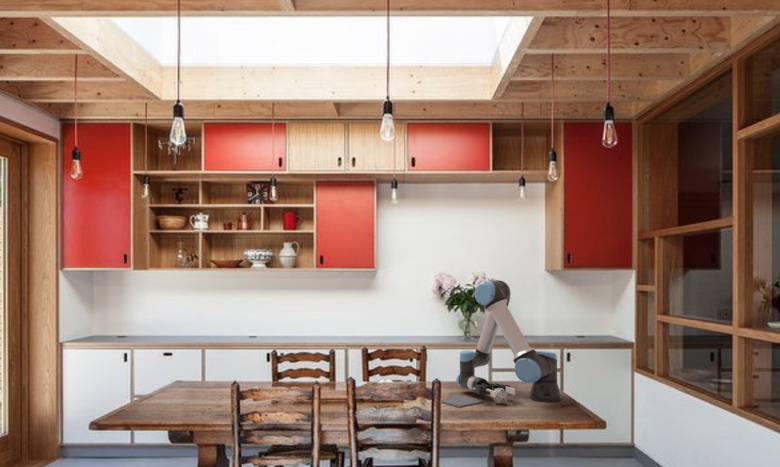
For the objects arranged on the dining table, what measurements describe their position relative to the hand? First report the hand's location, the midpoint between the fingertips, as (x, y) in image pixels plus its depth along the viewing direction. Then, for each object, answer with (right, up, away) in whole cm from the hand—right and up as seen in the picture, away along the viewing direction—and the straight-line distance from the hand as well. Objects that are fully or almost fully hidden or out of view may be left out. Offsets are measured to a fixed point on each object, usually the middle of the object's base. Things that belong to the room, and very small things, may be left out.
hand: (504, 393), depth 297 cm
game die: (-2, -6, +3) cm, 7 cm away
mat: (-20, -6, +8) cm, 23 cm away
